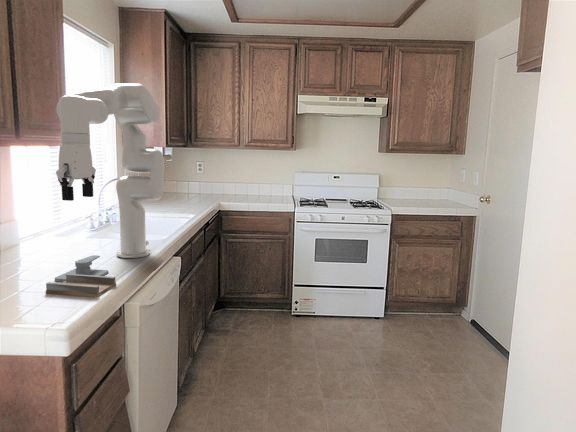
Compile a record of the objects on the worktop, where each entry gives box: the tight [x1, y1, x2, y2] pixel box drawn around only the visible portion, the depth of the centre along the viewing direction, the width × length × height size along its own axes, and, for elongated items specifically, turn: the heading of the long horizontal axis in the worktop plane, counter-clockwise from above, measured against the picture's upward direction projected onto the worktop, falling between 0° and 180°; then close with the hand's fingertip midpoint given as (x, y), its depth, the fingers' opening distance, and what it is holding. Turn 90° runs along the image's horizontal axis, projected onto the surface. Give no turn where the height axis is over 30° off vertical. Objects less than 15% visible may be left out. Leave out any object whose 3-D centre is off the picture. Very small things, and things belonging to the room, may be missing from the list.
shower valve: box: [54, 254, 109, 283], centre depth 145 cm, size 12×6×15 cm
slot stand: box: [45, 274, 117, 298], centre depth 132 cm, size 11×16×3 cm
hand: (78, 198), depth 128 cm, fingers open, 9 cm apart
